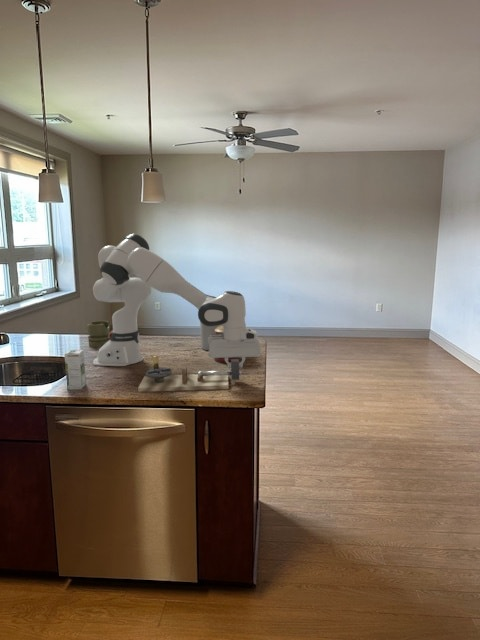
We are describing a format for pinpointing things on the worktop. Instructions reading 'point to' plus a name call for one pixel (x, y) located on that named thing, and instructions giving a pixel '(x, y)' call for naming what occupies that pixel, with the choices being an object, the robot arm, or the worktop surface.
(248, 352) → the robot arm
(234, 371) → the hammer
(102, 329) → the olive green mug
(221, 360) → the canister
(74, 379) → the syrup box
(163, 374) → the handwheel
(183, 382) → the eye post
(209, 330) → the cylinder vase
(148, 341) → the worktop surface
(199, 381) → the board
